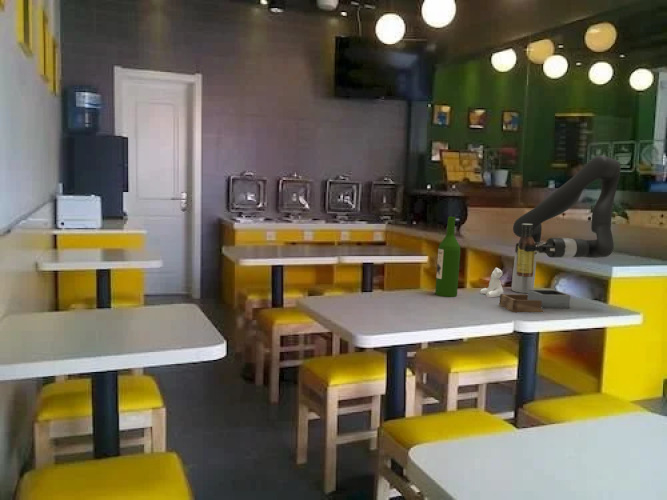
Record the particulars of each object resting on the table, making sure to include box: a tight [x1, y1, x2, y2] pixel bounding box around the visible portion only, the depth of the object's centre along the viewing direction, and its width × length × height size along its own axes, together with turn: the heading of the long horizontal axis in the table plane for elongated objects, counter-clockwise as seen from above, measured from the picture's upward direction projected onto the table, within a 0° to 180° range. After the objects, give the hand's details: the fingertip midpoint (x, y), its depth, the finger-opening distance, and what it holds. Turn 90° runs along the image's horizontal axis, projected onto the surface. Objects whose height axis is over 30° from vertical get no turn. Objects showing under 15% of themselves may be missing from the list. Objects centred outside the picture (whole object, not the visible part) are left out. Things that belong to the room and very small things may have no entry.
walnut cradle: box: [498, 293, 544, 313], centre depth 236 cm, size 12×12×4 cm
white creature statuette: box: [480, 267, 504, 298], centre depth 261 cm, size 10×9×12 cm
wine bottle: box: [434, 216, 461, 298], centre depth 255 cm, size 9×9×32 cm
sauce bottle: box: [517, 224, 535, 277], centre depth 233 cm, size 7×6×20 cm
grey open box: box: [527, 289, 571, 309], centre depth 247 cm, size 11×12×5 cm
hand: (520, 247), depth 233 cm, fingers closed on sauce bottle, 6 cm apart
